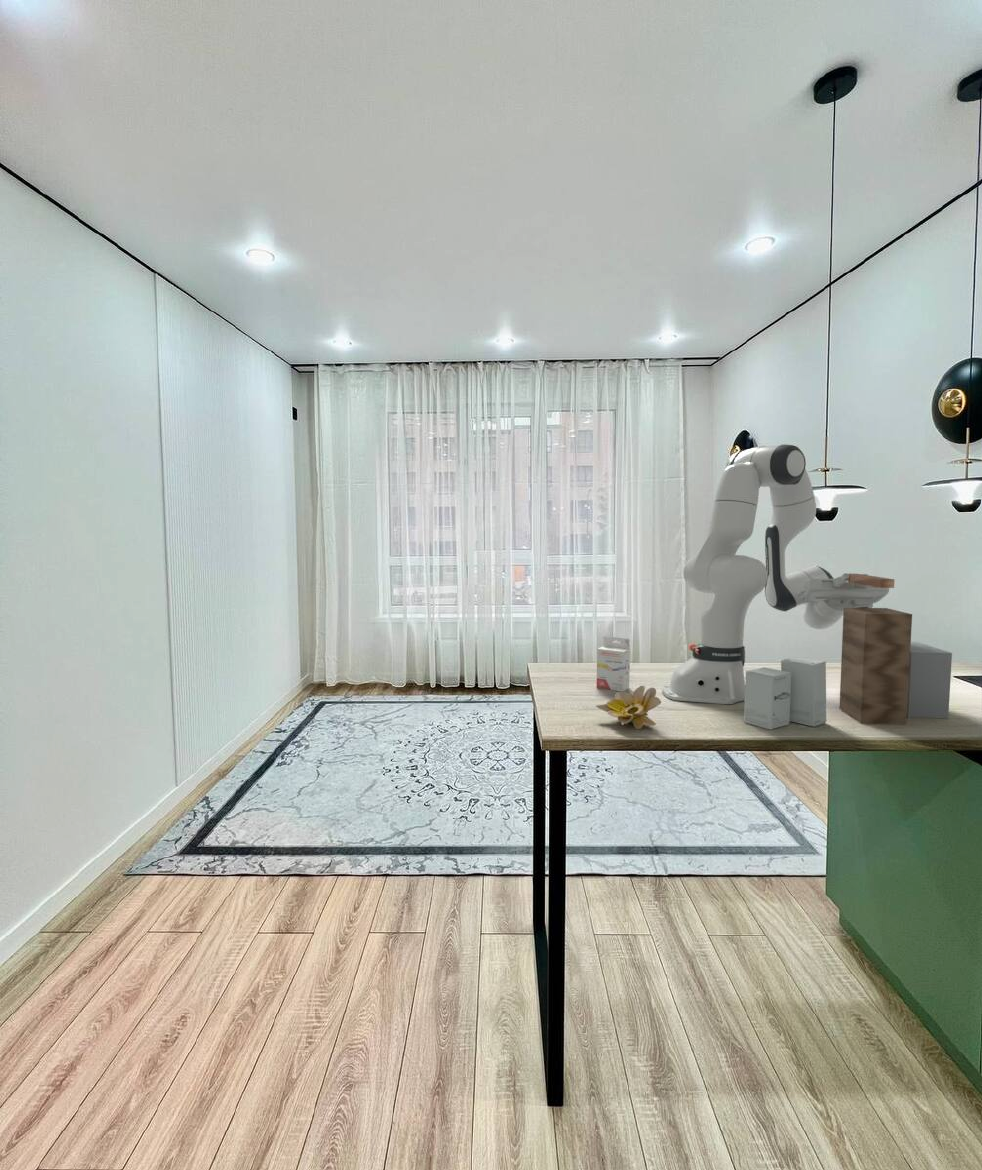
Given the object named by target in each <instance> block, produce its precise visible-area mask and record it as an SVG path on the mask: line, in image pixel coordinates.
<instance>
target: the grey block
mask: <svg viewBox="0 0 982 1170" xmlns="http://www.w3.org/2000/svg"><path fill="white" fill-rule="evenodd" d="M952 659H953V652H950V651H947V650H944V649H940V648H938V647H935V646H931V645H928V644H925V643H922V642H919V641H911V647H910V666H909V686H908V705H907V718H921V719H922V718H923V719H925V718H927V719H929V718H930V719H949V716H950V715H949V713H950V712H949V710H950V698H951V697H950V695H951V694H950V693H951V679H952V677H951V676H952V663H953V661H952Z"/></svg>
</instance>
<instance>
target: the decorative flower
mask: <svg viewBox="0 0 982 1170" xmlns="http://www.w3.org/2000/svg"><path fill="white" fill-rule="evenodd" d="M656 695H657V690H656V688H655V687H653V686H652V687H650V688H648V689H647V690H646V686H645V685H640V686H638V687H637V688H635V690H634V691H633V693H632V694H631V693H630V692H629V693H628V692H625V691H624V692H622V691H617V692H616V693H615V694H614V699H613V698H611V699H608V701H607V702H606V704H599V705H595V707H596V708H597V709H598V710H602V711H603V712H606V713H607V715H610V716H611V717H613V718H618V720H619V721H620V723H621V725H622V726H623V725H626V724H629V723H632V724H633V727H634V728H635V729H636V730H640V729H643V725H644V724H645V725H647V726H651V727H653V726H656V725H657V723H656V722H655V721H653V720H652V719H651V718H650V717H648V715H649V714H648V713H649V711H651V710H653V709H655V708H656V707H659V706H660V705H661V704H662V701H661V699H660V698H659V697H657V696H656Z"/></svg>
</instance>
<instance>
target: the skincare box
mask: <svg viewBox="0 0 982 1170" xmlns="http://www.w3.org/2000/svg"><path fill="white" fill-rule="evenodd" d="M826 665H827V662H826V661H825V660H819V659H811V658H810V659H809V658H801V657H795V656H792V657H789V658H785V659H782V660H780V670H781V671H786V672H791V694H790V717H789V722H793V723H797V724H801V725H805V726H809V727H813V728H814V727H817V726H821V725H824V724H826V723H827V668H826V667H827V666H826Z"/></svg>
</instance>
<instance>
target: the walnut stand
mask: <svg viewBox="0 0 982 1170" xmlns="http://www.w3.org/2000/svg"><path fill="white" fill-rule="evenodd" d="M842 617H843V618H842V634H841V635H842V639H841V660H840V661H841V662H840V682H839V683H840V685H839V688H840V689H839V706H838V707H839V710H840V709H841V710H840V711H842V712H844V713H845V714H846V715H848V716H849V717H851V718H852V719H853V720H855V721H857V722H858V723H860V724H874V725H877V724H878V725H900V726H901V725H902V726H903V725H904V726H905V725H907V722H908V717H907V705H908V686H909V666H910V647H911V642H912V624H913V623H912V622H913V613H908V612H904V611H900V610H896V609H893V608H888V607H872V608H844V611H843V615H842Z"/></svg>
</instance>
